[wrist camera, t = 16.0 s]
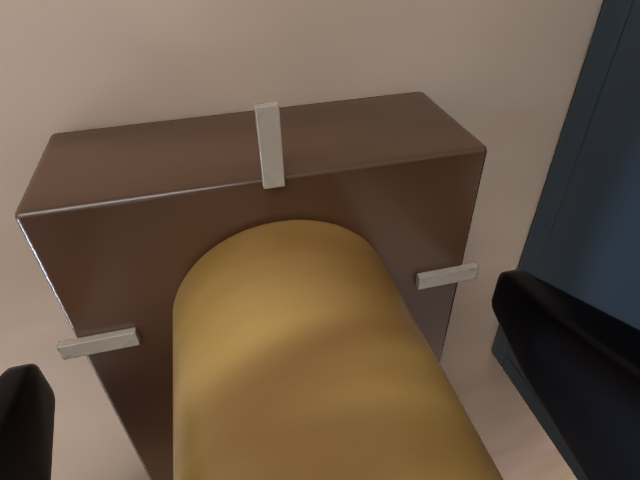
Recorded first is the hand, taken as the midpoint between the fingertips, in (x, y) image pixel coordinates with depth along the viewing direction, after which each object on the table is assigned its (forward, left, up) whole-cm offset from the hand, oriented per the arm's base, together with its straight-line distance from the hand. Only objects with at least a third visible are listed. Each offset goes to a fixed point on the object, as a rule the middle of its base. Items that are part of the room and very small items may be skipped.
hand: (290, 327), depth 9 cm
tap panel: (-2, 0, -4) cm, 4 cm away
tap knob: (0, 0, -1) cm, 1 cm away
